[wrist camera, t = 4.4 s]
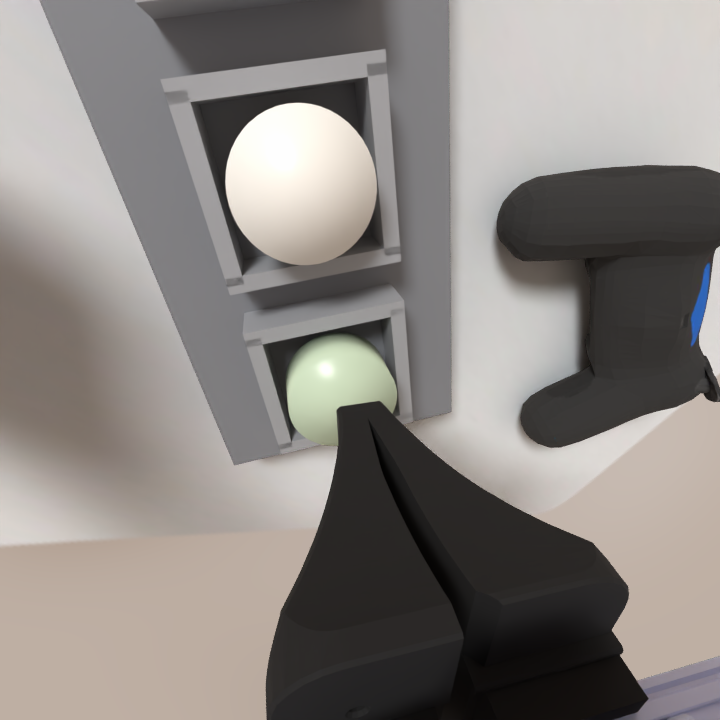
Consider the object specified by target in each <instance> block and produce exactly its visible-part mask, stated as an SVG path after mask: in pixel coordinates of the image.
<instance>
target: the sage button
mask: <svg viewBox="0 0 720 720" xmlns="http://www.w3.org/2000/svg"><path fill="white" fill-rule="evenodd" d="M286 391H287V400H288V410H289V416H290V419H291V422H292V424H293V425H294V427H295V428H296V430H297V431H298V432H299V433H300V434H301V435H302V436H304V437H305V438H307V439H309V440H311V441H313V442H315V443H318V444H322V445H327V446H338V430H337V413H336V410H337V409H338V408H339V407H340V406H347V405H354V404H361V403H368V402H375V401H380V402H382V403H383V404H384V405H385V406H386V407H387V408H388V410H389V411H390V412H391V413H392V414H393V411H394V409H395V406H396V402H397V389H396V384H395V382H394V379H393V377H392V376H391V374H390V372H389V370H388V368H387V366H386V364H385V362H384V360H383V358H382V356H381V354H380V353H379V351H378V350H377V348H376V347H375V346H374V345H373V344H372V343H371V342H369V341H368V340H367V339H365V338H363V337H361V336H358V335H355V334H351V333H343V332H338V333H329V334H325V335H321V336H319V337H316V338H314V339H312V340H310V341H308V342H307V343H306V344H304V345H303V346H302V347H301V348H300V349H299V350H298V351H297V352H296V353H295V354H294V355H293V357H292V359H291V360H290V362H289V365H288V367H287V371H286Z"/></svg>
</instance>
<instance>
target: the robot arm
mask: <svg viewBox="0 0 720 720" xmlns="http://www.w3.org/2000/svg"><path fill="white" fill-rule="evenodd" d="M336 413H337V430H338V451H337V459H336V464H335V469H334V475H333V480H332V484H331V488H330V492H329V496H328V499H327V503H326V506H325V510H324V513H323V516H322V519H321V522H320V525H319V527H318V530H317V533H316V536H315V538H314V541H313V543H312V546H311V548H310V551H309V553H308V555H307V558H306V560H305V562H304V565H303V567H302V570H301V572H300V574H299V576H298V578H297V580H296V582H295V584H294V586H293V588H292V590H291V592H290V594H289V596H288V598H287V600H286V602H285V604H284V606H283V608H282V610H281V613H280V617H279V621H278V625H277V628H276V632H275V636H274V640H273V644H272V648H271V652H270V657H269V663H268V669H267V676H266V711H267V720H720V656H718V657H715V658H712V659H708V660H705V661H701V662H698V663H695V664H691V665H688V666H684V667H681V668H678V669H674V670H671V671H668V672H664V673H662V674H658V675H654V676H651V677H648V678H644V679H641V680H638V681H637V680H636V679H635V678H634V676H633V675H632V673H631V671H630V670H629V669H628V667H627V666H626V664H625V663H624V661H623V660H622V658H621V657H620V654H622V653H623V648H622V645H621V643H620V642H619V641H618V639H617V638H616V636H615V635H614V633H613V632H612V628H613V627H614V625H615V623H616V621H617V620H618V618H619V616H620V615H621V613H622V611H623V610H624V608H625V606H626V603H627V601H628V596H629V592H628V586H627V584H626V583H625V582H624V581H623V579H622V578H621V577H620V576H619V574H618V573H617V572H616V570H615V569H614V567H613V566H612V565H611V564H610V562H609V561H608V560H607V558H606V557H605V556H604V555H603V554H602V553H601V552H600V551H599V550H598V548H597V547H596V546H595V545H594V544H593V543H592V542H590V541H588V540H585V539H583V538H580V537H578V536H576V535H573V534H571V533H569V532H566V531H564V530H561V529H559V528H557V527H554V526H552V525H550V524H547V523H545V522H543V521H541V520H539V519H537V518H535V517H533V516H531V515H529V514H527V513H525V512H523V511H521V510H519V509H517V508H515V507H513V506H511V505H510V504H508V503H506V502H504V501H503V500H501V499H499V498H497V497H496V496H494V495H492V494H491V493H489V492H487V491H485V490H484V489H482V488H481V487H479V486H477V485H476V484H474V483H473V482H471V481H470V480H468V479H467V478H466V477H464V476H463V475H461V474H460V473H458V472H457V471H456V470H454V469H453V468H452V467H450V466H449V465H448V464H447V463H445V462H444V461H443V460H442V459H440V458H439V457H438V456H437V455H435V454H434V453H433V452H432V451H431V450H430V449H428V448H427V447H426V446H425V445H424V444H423V443H422V442H421V441H420V440H419V439H417V438H416V437H415V436H414V435H413V434H412V433H411V432H410V431H409V430H408V429H407V428H406V427H405V426H404V425H403V424H402V423H401V422H400V421H399V420H398V419H397V418H396V417H395V416H394V415H393V414H392V413H391V412H390V411H389V410H388V408H387V407H386V406H385V405H384V404H383V403H382V402H380V401H375V402H368V403H361V404H354V405H347V406H340V407H339V408H338V409H337V410H336Z"/></svg>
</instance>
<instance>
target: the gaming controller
mask: <svg viewBox="0 0 720 720" xmlns="http://www.w3.org/2000/svg"><path fill="white" fill-rule="evenodd" d="M497 232H498V235H499V238H500V241H501V242H502V243H503V244H504V245H505V247H506V248H507V249H508V250H509V251H510V252H511V253H512V254H513V256H514V257H516V258H518V259H520V260H522V261H554V260H569V259H583V258H586V263H585V265H586V269H587V272H588V275H589V278H590V333H589V334H588V335H587V337H586V340H585V341H586V349H587V353H588V358H589V360H590V362H591V365H590V366H589V367H587V368H586V369H584V370H583V371H581V372H578V373H576V374H574V375H572V376H570V377H567V378H565V379H563V380H561V381H558V382H556V383H554V384H552V385H550V386H547V387H545V388H544V389H542V390H540V391H539V392H537V393H535V394H534V395H532V396H531V397H530V398H529V399H528V400H527V401H526V402H525V403H524V404H523V409H522V413H521V423H522V426H523V428H524V431H525V432H526V434H527V435H528V436H529V437H530V438H531V439H532V440H534V441H535V442H536V443H538V444H541V445H544V446H547V447H550V448H554V447H563V446H567V445H570V444H573V443H576V442H580V441H582V440H585V439H587V438H590V437H592V436H595V435H597V434H600V433H602V432H605V431H607V430H609V429H612V428H614V427H617V426H619V425H621V424H623V423H625V422H628V421H630V420H633V419H635V418H638V417H640V416H643V415H646V414H649V413H653V412H656V411H660V410H665V409H669V408H674V407H677V406H679V405H681V404H684V403H686V402H688V401H690V400H692V399H694V398H695V397H696V396H697V395H699V394H700V393H704V396H705V397H706V398H707V399H708V400H710V401H713V402H720V387H719V385H718V382H717V379H716V377H715V376H714V374H713V372H712V371H713V370H712V368H711V365H710V363H709V361H708V359H707V357H706V356H704V355H703V353H702V351H701V349H700V346H699V332H700V328H701V324H702V321H703V317H704V313H705V309H706V304H707V299H708V294H709V287H710V280H711V272H712V264H713V257H714V253H715V250H716V248H718V247H719V246H720V173H718V172H715V171H712V170H709V169H705V168H701V167H697V166H660V165H643V166H628V167H611V168H600V169H590V170H582V171H574V172H567V173H560V174H553V175H547V176H540V177H536V178H534V179H531V180H529V181H527V182H525V183H522V184H521V185H520V186H518V187H517V188H516V189H515V190H513V191H512V192H511V194H510V195H509V196H508V197H507V198H506V199H505V200H504V202H503V204H502V206H501V208H500V211H499V214H498V219H497Z"/></svg>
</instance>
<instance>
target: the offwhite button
mask: <svg viewBox="0 0 720 720" xmlns="http://www.w3.org/2000/svg"><path fill="white" fill-rule="evenodd" d="M225 185H226V195H227V199H228V204H229V207H230V210H231V212H232V215H233V217H234V219H235V221H236V223H237V225H238V227H239V228H240V230H241V231H242V233H243V234H244V235H245V236H246V237H247V239H248V240H249V241H250V242H251V243H252V244H253V245H254V246H255V247H257V248H258V249H259V250H261V251H262V252H263V253H265V254H267V255H268V256H270V257H272V258H274V259H277V260H279V261H282V262H285V263H289V264H295V265H314V264H320V263H323V262H327V261H329V260H332V259H334V258H336V257H338V256H340V255H342V254H343V253H344V252H346V251H347V250H349V249H350V248H351V247H352V246H353V245H354V244H355V243H356V242H357V241H358V240H359V238H360V237H361V236H362V234H363V233H364V231H365V230H366V228H367V226H368V224H369V222H370V220H371V217H372V214H373V211H374V207H375V202H376V194H377V180H376V173H375V168H374V164H373V160H372V157H371V155H370V153H369V150H368V148H367V146H366V145H365V143H364V141H363V139H362V138H361V137H360V135H359V134H358V133H357V131H356V130H355V129H354V128H353V127H352V126H351V125H350V124H349V123H348V122H347V121H345V120H344V119H343V118H342V117H340V116H339V115H337V114H336V113H334V112H332V111H330V110H328V109H326V108H323V107H321V106H317V105H313V104H307V103H287V104H283V105H279V106H275V107H273V108H270V109H268V110H266V111H264V112H263V113H261V114H259V115H258V116H256V117H255V118H254V119H253V120H251V121H250V122H249V123H248V124H247V125H246V126H245V128H244V129H243V130H242V131H241V133H240V134H239V136H238V137H237V139H236V140H235V142H234V145H233V147H232V149H231V151H230V155H229V158H228V161H227V167H226V179H225Z"/></svg>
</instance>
